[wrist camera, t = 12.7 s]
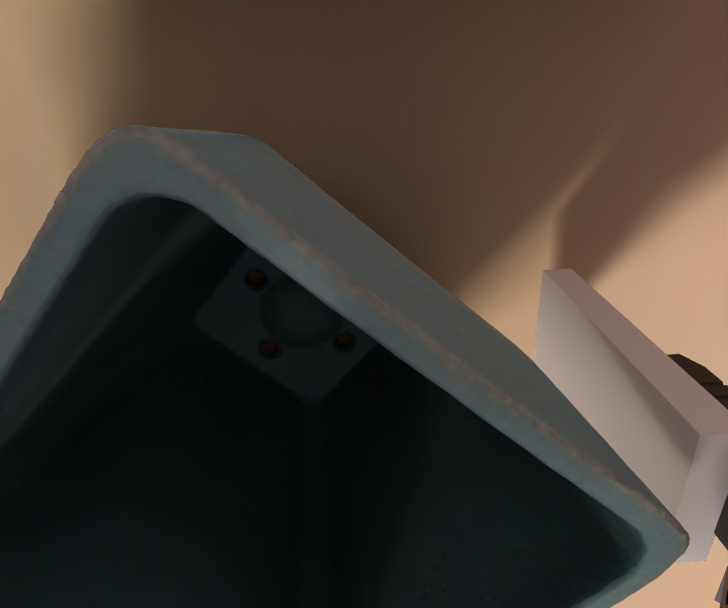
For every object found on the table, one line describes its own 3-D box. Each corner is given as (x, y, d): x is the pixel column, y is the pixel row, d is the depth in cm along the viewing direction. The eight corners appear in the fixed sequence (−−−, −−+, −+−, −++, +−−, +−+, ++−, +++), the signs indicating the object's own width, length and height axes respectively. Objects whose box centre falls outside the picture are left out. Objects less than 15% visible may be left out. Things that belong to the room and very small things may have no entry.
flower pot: (515, 287, 15) (718, 556, 7) (331, 465, 17) (312, 810, 9) (271, 78, 12) (108, 94, 4) (100, 325, 15) (-201, 632, 7)
